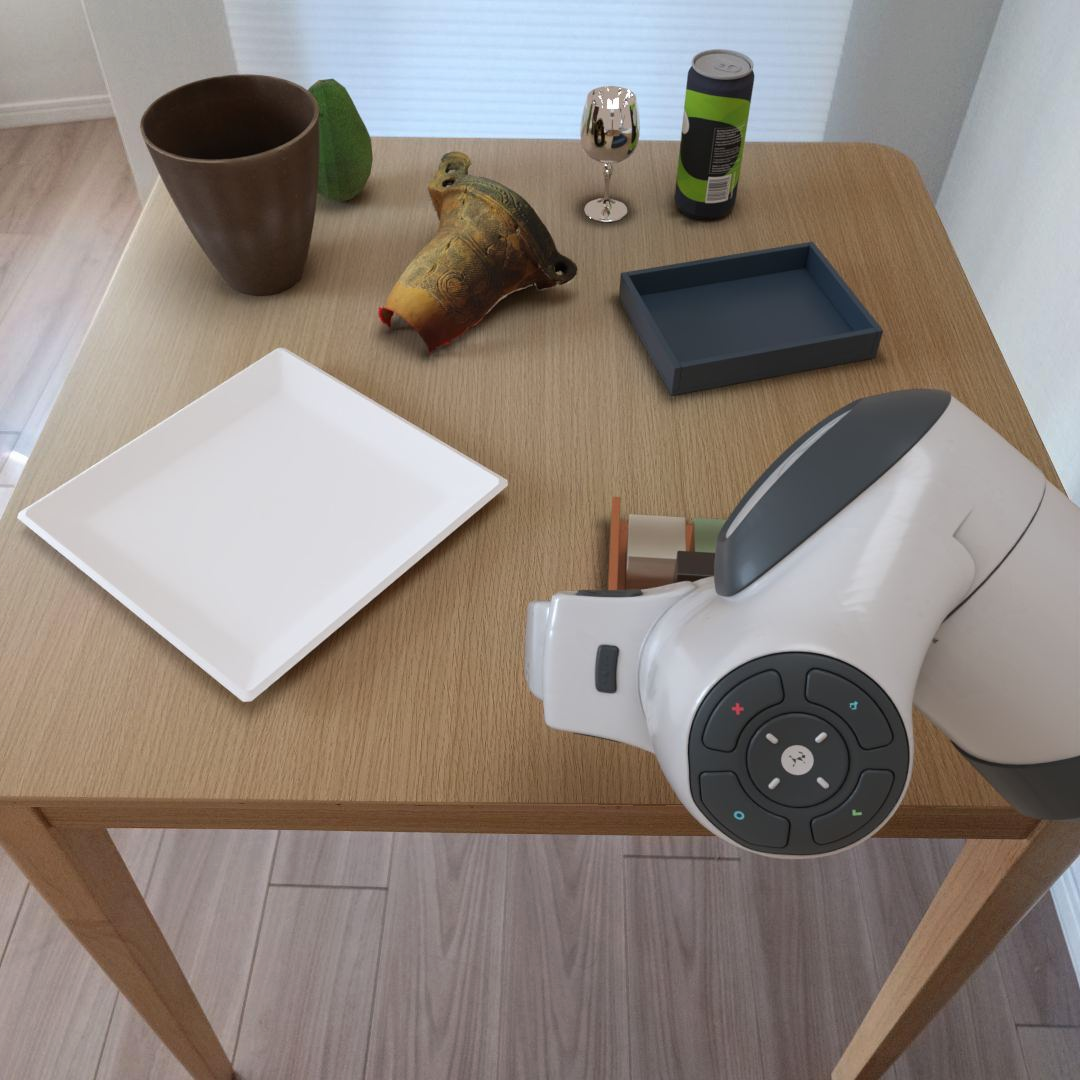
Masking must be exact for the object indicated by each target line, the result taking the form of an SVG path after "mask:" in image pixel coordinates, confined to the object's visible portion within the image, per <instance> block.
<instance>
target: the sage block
mask: <svg viewBox="0 0 1080 1080" xmlns="http://www.w3.org/2000/svg"><path fill="white" fill-rule="evenodd" d="M726 520H727V519H723V518H707V517H694V518H693V523H692V525H693V530H692V536H691V542H690V549H689V551H693V552H710V553H715V551H716V545H717V539H718V535H719V533H720V531H721V529H722V527H723V525H724V524H725V522H726Z"/></svg>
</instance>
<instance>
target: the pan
mask: <svg viewBox="0 0 1080 1080" xmlns="http://www.w3.org/2000/svg"><path fill="white" fill-rule="evenodd" d="M621 499H622V498H621V496H612V499H611V513H610V524H609V525H610V529H609V548H608V549H609V552H608V570H607V571H608V572H607V573H608V574H607V590H625V559H626V543H627V532H628V521H629V520H627V521H626V520H625V521H624V520H621V502H622V501H621ZM692 530H693V524H686V551H677V556H676V563H675V570H674V577H673V583H678V582H683V581H690V582H695V581H697V580H700V579H704V578H707V577H712V576H714V560H715V553H710V552H693V551H689V549H690V542H691V536H692Z"/></svg>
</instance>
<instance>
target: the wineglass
mask: <svg viewBox="0 0 1080 1080" xmlns="http://www.w3.org/2000/svg"><path fill="white" fill-rule="evenodd" d="M640 122H641V121H640V110H639V104H638V99H637V96H636V94H635V93H634V92H633V91H632V90H631V89H628V88H626V87H622V86H617V85H605V86H604V85H603V86H599V87H595V88H594V89H592V90H589V92H588V94H587V96H586V99H585V103H584V107H583V110H582V115H581V120H580V126H579V127H580V128H579V134H580V143H581V146H582V149H583V150H584V151H585V153H586V155H587V156H588V157H589V158H591V159H592V160H594V161H596V162H599V163H602V164H603V167H602V175H603V177H604V192H603V193H604V194H603V197H599V198H595V199H592V200H590V201H588V202H587V203H586V204H585V206H584V208H583V211H584V214H585V215H586V216H587V218H589V219H590V220H593V221H596V222H599V223H614V222H619V221H620V220H622V219H624V218H625V217H626V216H627V214H628V207H627V206H626V204H625V203H624V202H622V201H620V200H618V199H616V198H610V183H611V179H612V175H613V172H614V165H613V164H617V163H621V162H623V161H625V160H627V159H629V157H631V156H632V155H633V153H634V152H635V150H636V149H637V147H638V144H639V139H640V135H641V134H640V132H641V123H640Z"/></svg>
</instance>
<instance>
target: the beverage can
mask: <svg viewBox="0 0 1080 1080" xmlns="http://www.w3.org/2000/svg"><path fill="white" fill-rule="evenodd" d="M753 69H754V62H753V60H752V59H751V58H750V57H749V56H748V55H746V54H744V53H743V52H739V51H736V50H731V49H723V48H715V49H708V50H704V51H701V52H698V53H697V54H695V55H694V56H693V57H692V59H691V66H690V68H689V69H688V71H687V77H686V87H685V94H684V96H685V97H684V103H683V104H684V105H683V114H682V123H681V132H680V133H681V134H680V141H679V142H680V144H679V153H678V162H677V169H676V170H677V171H676V179H675V180H676V181H675V190H674V202H675V204H676V205H677V207H678V208H679V210H680V211H681V213H682V214H684V215H686V216H687V217H689V218H692V219H696V220H701V221H712V220H713V221H714V220H718V219H721V218H723V217H724V216H726V215H727V214H728V213H729V212H730V211H732V209H734V207H735V205H736V201H737V194H738V189H739V188H738V187H739V181H740V175H741V168H742V161H743V154H744V150H745V149H744V148H745V142H746V136H747V130H748V123H749V115H750V109H751V103H752V96H753V91H754V83H755V72H754V70H753Z"/></svg>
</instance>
